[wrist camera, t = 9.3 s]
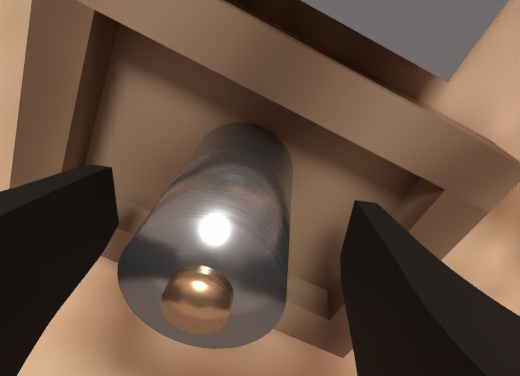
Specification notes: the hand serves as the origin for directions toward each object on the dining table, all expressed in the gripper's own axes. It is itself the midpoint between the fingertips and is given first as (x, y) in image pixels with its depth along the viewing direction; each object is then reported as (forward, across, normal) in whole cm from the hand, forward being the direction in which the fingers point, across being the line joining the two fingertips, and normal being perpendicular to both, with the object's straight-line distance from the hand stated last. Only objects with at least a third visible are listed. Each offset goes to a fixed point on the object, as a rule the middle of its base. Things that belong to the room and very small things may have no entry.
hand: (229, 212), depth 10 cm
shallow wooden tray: (+3, 0, 0) cm, 3 cm away
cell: (+3, 0, 0) cm, 3 cm away
